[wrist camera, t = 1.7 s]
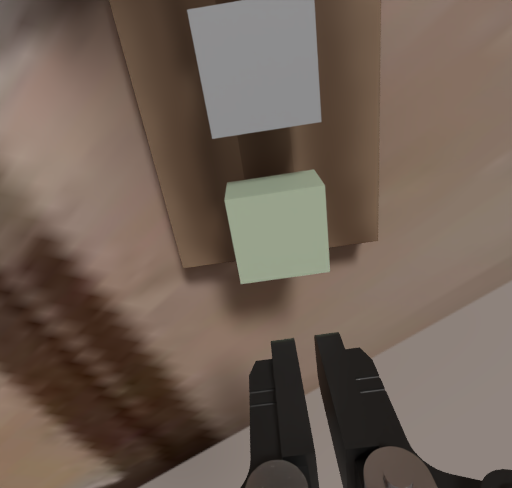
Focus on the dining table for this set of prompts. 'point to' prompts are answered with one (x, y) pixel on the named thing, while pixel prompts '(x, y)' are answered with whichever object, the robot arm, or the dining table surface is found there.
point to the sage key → (278, 226)
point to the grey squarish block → (257, 64)
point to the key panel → (258, 143)
